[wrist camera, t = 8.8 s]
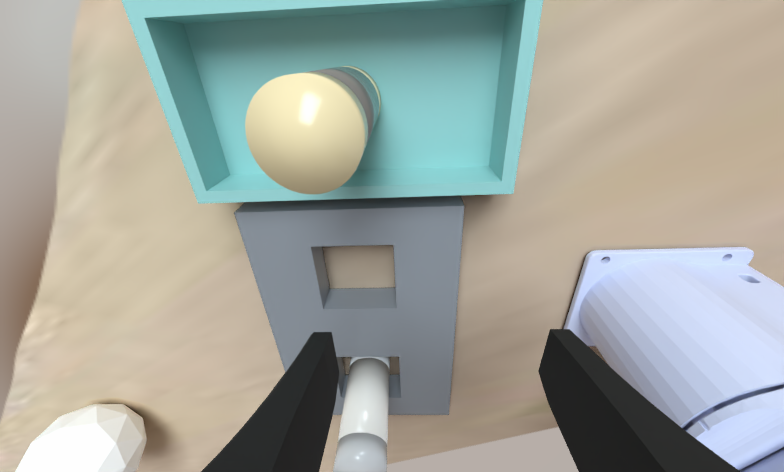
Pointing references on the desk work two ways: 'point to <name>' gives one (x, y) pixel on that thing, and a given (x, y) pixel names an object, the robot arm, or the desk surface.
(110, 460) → the geometric ball
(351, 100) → the led light bulb
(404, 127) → the tray
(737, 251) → the robot arm
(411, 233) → the fuse block
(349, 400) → the fuse
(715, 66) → the desk surface
